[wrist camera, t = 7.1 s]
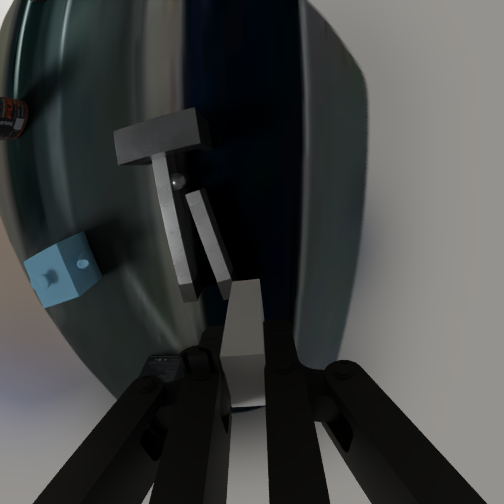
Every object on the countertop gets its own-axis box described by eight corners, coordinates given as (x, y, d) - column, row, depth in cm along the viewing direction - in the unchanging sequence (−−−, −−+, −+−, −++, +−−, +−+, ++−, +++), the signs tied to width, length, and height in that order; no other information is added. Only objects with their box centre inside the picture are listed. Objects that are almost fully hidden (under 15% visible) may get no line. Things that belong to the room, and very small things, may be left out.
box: (148, 355, 33) (121, 409, 23) (186, 354, 33) (167, 413, 23) (164, 394, 36) (146, 447, 26) (199, 394, 36) (188, 451, 25)
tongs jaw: (191, 192, 27) (184, 195, 24) (205, 187, 27) (199, 189, 24) (226, 287, 30) (223, 300, 27) (239, 283, 30) (238, 296, 27)
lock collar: (143, 138, 25) (113, 131, 19) (208, 121, 25) (194, 107, 19) (147, 165, 26) (118, 165, 20) (213, 149, 26) (200, 143, 19)
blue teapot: (108, 219, 28) (71, 234, 21) (127, 267, 30) (96, 293, 23) (46, 250, 29) (11, 268, 22) (64, 290, 31) (32, 314, 24)
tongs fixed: (161, 157, 26) (150, 155, 23) (186, 150, 26) (177, 148, 23) (190, 289, 30) (183, 302, 27) (213, 286, 30) (209, 299, 27)
